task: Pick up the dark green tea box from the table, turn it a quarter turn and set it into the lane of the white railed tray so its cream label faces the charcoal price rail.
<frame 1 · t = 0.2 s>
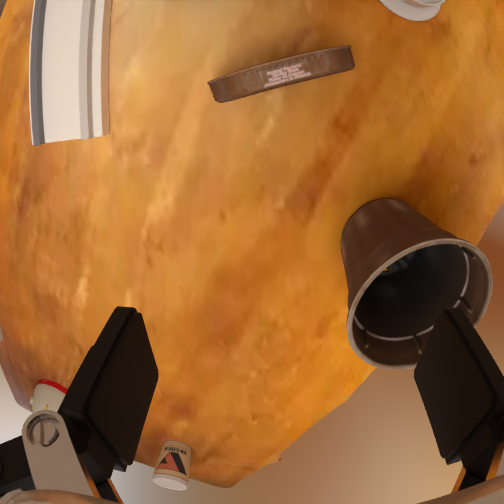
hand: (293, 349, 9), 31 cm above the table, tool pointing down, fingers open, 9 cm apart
coffee cup: (177, 446, 72), on the table
tin: (280, 74, 32), on the table
plant pot: (380, 239, 41), on the table
white railed tray: (71, 39, 29), on the table
kitchen timer: (60, 396, 66), on the table
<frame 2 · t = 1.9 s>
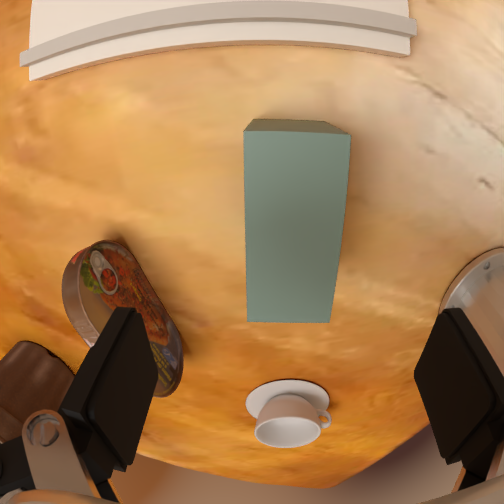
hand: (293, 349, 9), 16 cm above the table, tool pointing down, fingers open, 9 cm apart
tea box: (287, 193, 23), on the table
tin: (143, 295, 29), on the table
plant pot: (46, 368, 37), on the table
teacup: (287, 400, 35), on the table
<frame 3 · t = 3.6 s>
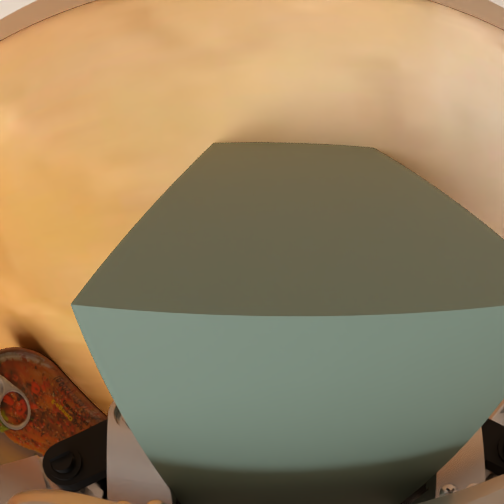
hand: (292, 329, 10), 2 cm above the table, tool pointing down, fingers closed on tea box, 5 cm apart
tea box: (288, 293, 12), on the table, touching gripper
tin: (80, 401, 17), on the table
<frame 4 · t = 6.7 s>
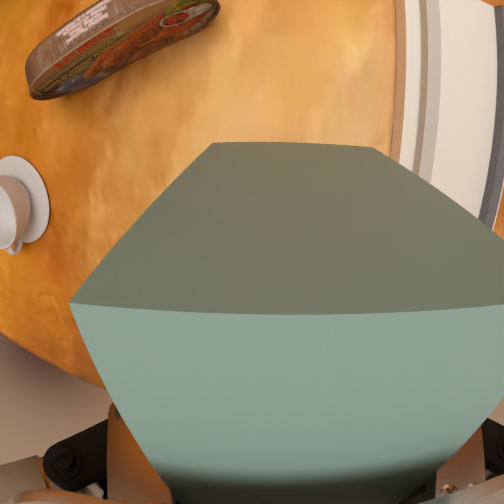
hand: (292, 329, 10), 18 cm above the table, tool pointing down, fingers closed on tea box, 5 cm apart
tea box: (288, 293, 12), point 16 cm above the table, touching gripper
tin: (136, 43, 21), on the table
teacup: (19, 198, 27), on the table
white railed tray: (451, 138, 23), on the table
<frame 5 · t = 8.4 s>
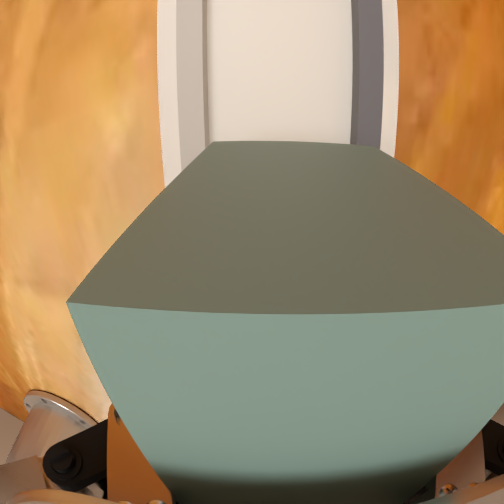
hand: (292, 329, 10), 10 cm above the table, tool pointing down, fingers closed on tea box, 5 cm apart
tea box: (288, 292, 12), point 8 cm above the table, touching gripper
white railed tray: (277, 217, 19), on the table
when the fingers open (5 cm above the table, at t = 9.9 s): tea box stays where it is, resting on white railed tray.
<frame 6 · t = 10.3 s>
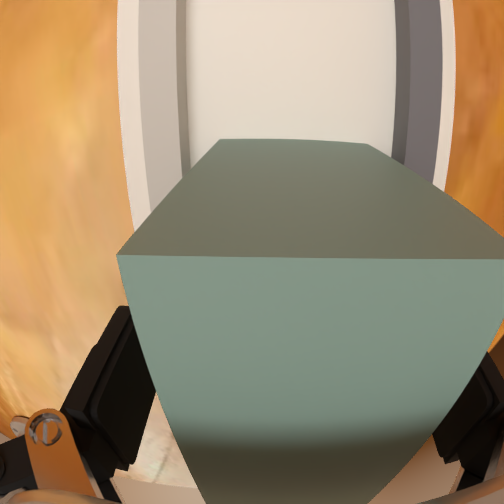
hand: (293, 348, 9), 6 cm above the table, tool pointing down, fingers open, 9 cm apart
tea box: (289, 280, 13), point 2 cm above the table, touching white railed tray
white railed tray: (285, 255, 14), on the table
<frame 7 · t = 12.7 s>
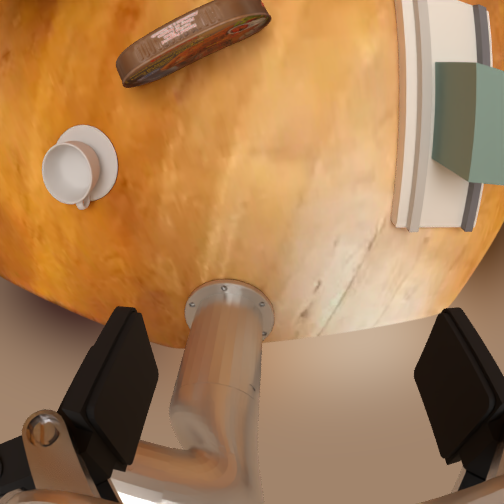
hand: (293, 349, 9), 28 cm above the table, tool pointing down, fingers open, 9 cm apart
tea box: (453, 113, 27), point 2 cm above the table, touching white railed tray
tin: (199, 44, 28), on the table
teacup: (86, 162, 35), on the table
white railed tray: (444, 110, 29), on the table
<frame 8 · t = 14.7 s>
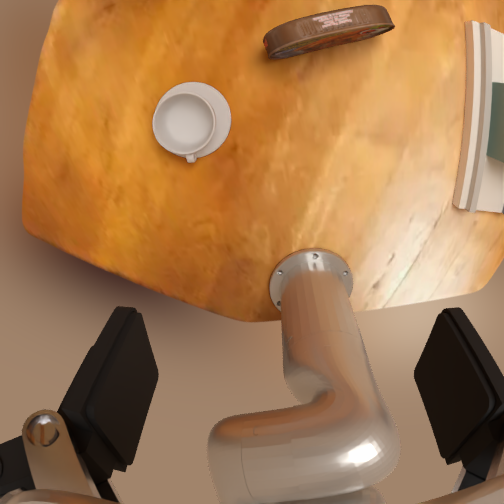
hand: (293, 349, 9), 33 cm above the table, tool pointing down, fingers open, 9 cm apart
tea box: (501, 121, 32), point 2 cm above the table, touching white railed tray
tin: (322, 36, 32), on the table
teacup: (192, 119, 38), on the table
white railed tray: (493, 119, 33), on the table
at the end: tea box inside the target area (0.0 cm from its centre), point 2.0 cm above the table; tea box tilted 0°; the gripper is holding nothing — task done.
